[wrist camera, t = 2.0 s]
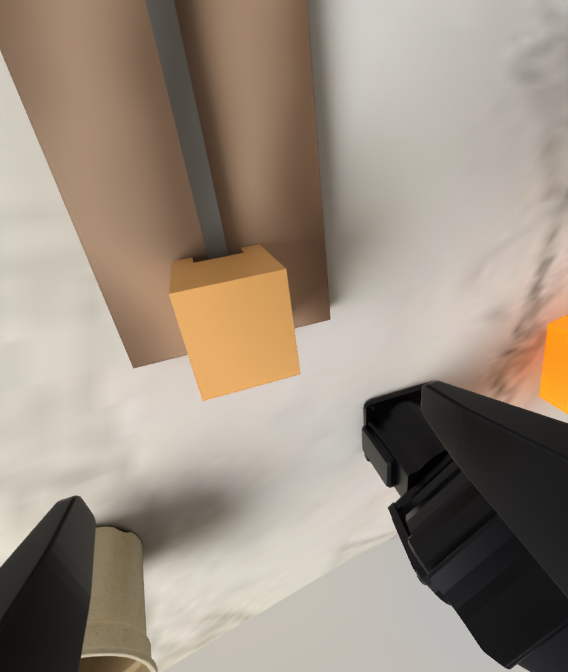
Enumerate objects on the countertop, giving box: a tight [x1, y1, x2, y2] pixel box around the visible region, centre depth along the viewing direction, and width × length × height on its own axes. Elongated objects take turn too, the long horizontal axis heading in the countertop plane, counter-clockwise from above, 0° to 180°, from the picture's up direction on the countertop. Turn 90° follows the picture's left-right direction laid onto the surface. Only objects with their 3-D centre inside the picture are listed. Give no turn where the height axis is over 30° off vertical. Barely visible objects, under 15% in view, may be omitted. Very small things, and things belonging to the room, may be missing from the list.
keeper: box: [169, 244, 300, 401], centre depth 16 cm, size 4×5×5 cm
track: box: [0, 0, 330, 368], centre depth 14 cm, size 12×22×6 cm, turn 8°
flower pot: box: [79, 527, 158, 672], centre depth 22 cm, size 9×9×9 cm
